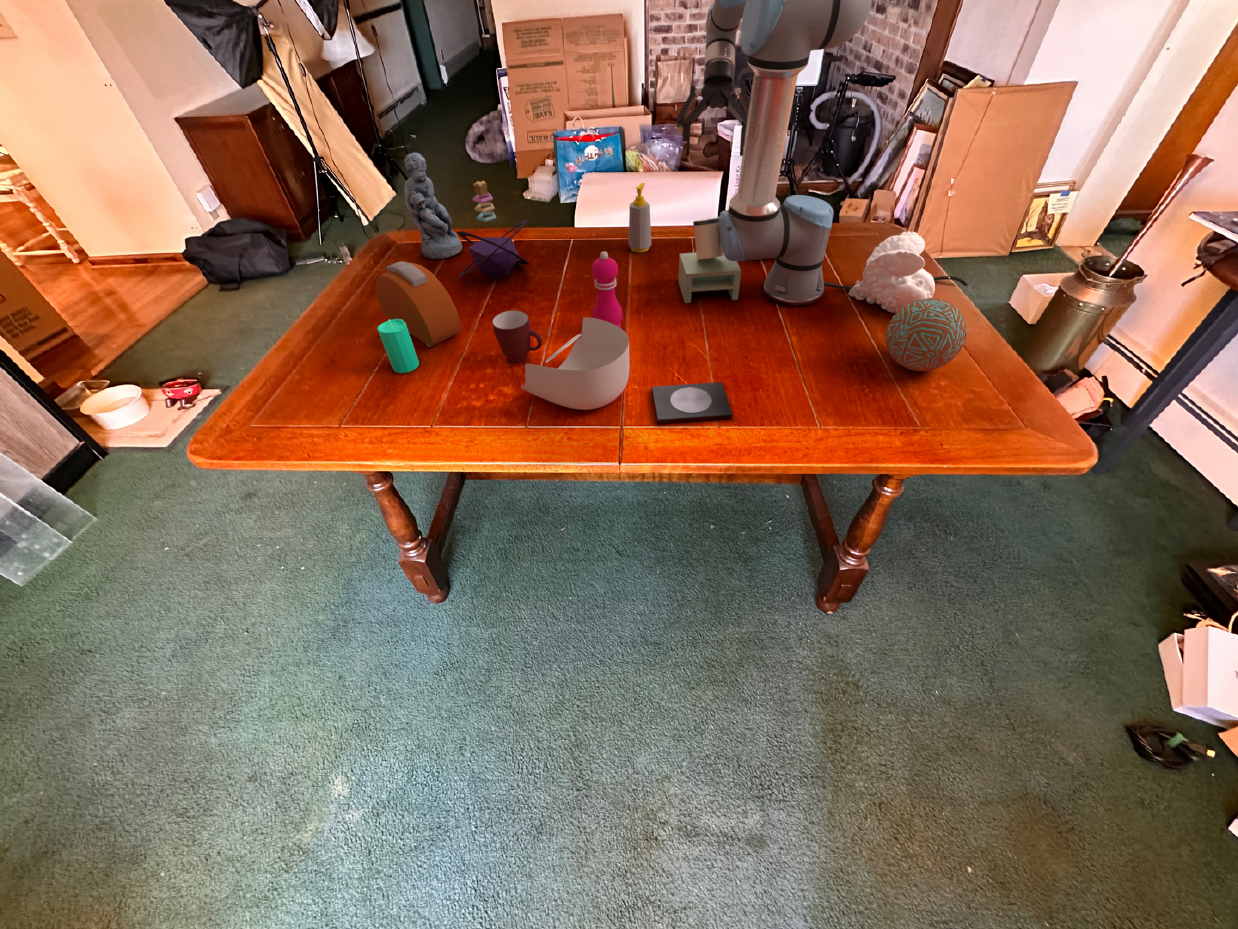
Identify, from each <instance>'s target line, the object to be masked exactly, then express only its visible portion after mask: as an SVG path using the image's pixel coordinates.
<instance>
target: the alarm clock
mask: <svg viewBox="0 0 1238 929" xmlns="http://www.w3.org/2000/svg"><path fill="white" fill-rule="evenodd" d="M385 268H386V272H384V273H382V274H380V275H379V276H378V277H377V278H376V280H375V294H376V299H377V302H378V304H379V305H378V306H379V308H380V310H381V312H382V314H383V316H384V317H385V318H386V319H387V320H389V319H390V320H393V319H402V320H403V321H404V322H405V323H406V326H407V328H408V331H409V334H411V336H413V337H415V338H417V339H418V340H420V341H421V342H423V343H425V344H426V347H428V348H431V347H433V346H435V345H437V344H439V343H442V342H443V341H445V340H447V339H449V338H452V337H453V336H455V335H456V334H458V333H460V332H461V331H462V330H463V329H462V323H461V319H460V316H459V313H458V310H457V308H456V305H455V303H454V302H453V299H452V298H451V295H449V293H448V291H447V289H446V288H445V286H443V283H441V282H440V280H439V279H438V278H437V277H436V276H435V275H434V274H433V272H432V271H430V270H429V269H427V268H426V267H424V266H423V265H421V264H419V263H415V262H407V261H397V262H394V263H392V264H389V265H387V266H386V267H385Z"/></svg>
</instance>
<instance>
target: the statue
mask: <svg viewBox="0 0 1238 929" xmlns="http://www.w3.org/2000/svg"><path fill="white" fill-rule="evenodd" d="M403 162H404V167H405V169H406V172H408V174H409V176H410V177H409V178H408V179H406V181H405V183H404V187H403V191H404V205H405V207H406V209H407V210H408V211H409V213H410V217H412V221H413V223H414V225H415V227H416V228H417V229H418V231H419V233H420V243H421V245H420V249H421V252H422V255H423V256H424V257H425V258H426V259H430V260H443V259H449V258H451V257H454V256H457V254H459V253H460V252H461V251H462V250H463V244H462V242H461V239H460V238H459V235H458V234H457V232H455V231H453V227H452V226H453V225H452V223H453V222H452V219H451V216H450V214H449V213H448V211H447V209H446V207H445V206H444V205H443V204H441V203H440V202H438V199H437V198H436V196H435V189H434V188H435V187H434V183H433V181H432V179H431V178H429V177H428V176H427V173H426V171H427V161H426V159H425V157H423V155H422V154H421V153H419V152H411V153H409V154H407V155H406V156H405V157H404V159H403Z"/></svg>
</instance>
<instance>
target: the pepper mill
mask: <svg viewBox="0 0 1238 929" xmlns="http://www.w3.org/2000/svg"><path fill="white" fill-rule="evenodd" d="M591 274H592V277H593V278H594V288H596V290H597V291H596V292H597V297H596V301H595V304H594V306H593V309H592V316H591V318H596V319H600V320H604V321H607V322H610V323H612V324H614V325H616V326H618V327H620V328H621V329H622V325H621V322H622V319H623V310H622V307H621V304H620V302H619V301H618V299H617V297H616V291H615V290H616V287H617V284H618V283H617V278H616V277H617V276H618V274H619V267H618V264H617V262H616V261H615V259H614V258H611V257H609V253H608V252H607V251H605V250H604V251H601V252H600V254H599V257H598V258H596V259H595V260H594V261H593V263H592V265H591Z"/></svg>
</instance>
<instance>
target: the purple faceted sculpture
mask: <svg viewBox="0 0 1238 929" xmlns="http://www.w3.org/2000/svg"><path fill="white" fill-rule="evenodd" d="M472 185H473V188H474V192H475V195H474V196H473V197H472V199H471V201H472V202H475V203H478V204H477V205H476V206H475V207H474V209H473V210H474V211H476V212H478V213H480V214H478V215H477V217H476V218H475V219H476V220H477V221H480V222H482V223H489V222H492V221H495V220H496V219H497V216H496V214H495V213H494V212H493V211H494V210H495V208H496V207H495V206H494V204H493V203H492V201H493V200H494V198H493V196H492V194H490V192H488V185H487V182H486V180H482V181H480V180H479V181H478V180H477V181H476V182H474V183H473V184H472ZM527 222H528V219H525V220H522V221H521V222H518V223H517V224H516V225H514V226H513V227H512V228H510V229H509V230H508V231H507V232H506V233H504V234H503V235H502V236H499V237H498V236H497V237H496V236H495V237H491V236H485V237H481V236H478V235H475V234H473V233H470V232H466V231H462V230H458V231H456V234H457V236H458V237H460V238H462V239H463V240H465V241H467V242H468V243H470V244H472V245H471V246H469V247H468V250H469V253H470V256H471V258H472V259H473V260H472V261H471V262H470V263H469V264H468V265H467V266H466V267H465V268H464V269H463V270H462V272H460V274H459V275H458V276H459V278H462V277H465V276H466V275H467V274H469V273H471V272H472V271H473V270H475V269H476V268H477V270H478V272H479V273H481V274H482V275H483V276H484V277H486V278H487V279H488V280H504V279H506V277H507V276H508V275H509V274H510V273H511V272H512V270H513V268H514V267H515V265H516V264H519V265H524V266H527V265H529V264H530V263H529V261H527V259H525V258H524V257H522V256H521V255H519V253H518V251H517V249H516V246H515V243H514V241H513V237H514V236H515V235H516V234H517V233H519V232H520V230H521V229H523V228H524V226H525V225H526V224H527ZM518 227H519V228H518ZM516 229H517V230H516ZM481 230H482V231H484V230H485V229H482V228H481ZM514 230H515V231H514ZM512 231H514V232H513V233H512V234H511V235H510V237H505V236H507V235H509V234H510V233H511V232H512ZM468 237H471V238H474V239H477V240H478V241H477V242H475V241H473V240H472V239H470V238H468ZM473 264H475V265H474V266H473V267H472V268H470V267H471V266H472V265H473ZM468 269H469V270H468Z"/></svg>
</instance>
